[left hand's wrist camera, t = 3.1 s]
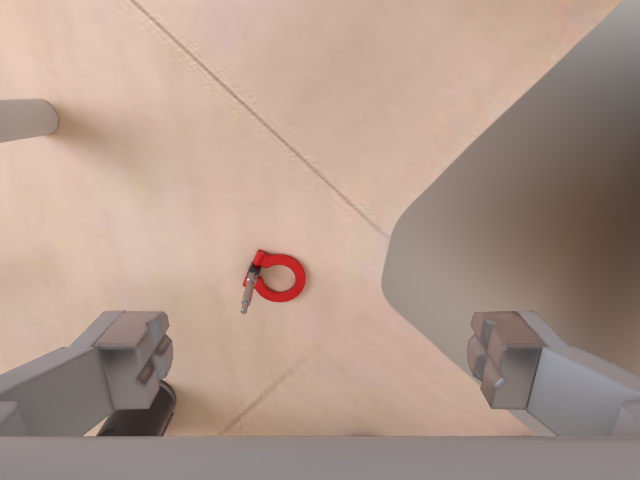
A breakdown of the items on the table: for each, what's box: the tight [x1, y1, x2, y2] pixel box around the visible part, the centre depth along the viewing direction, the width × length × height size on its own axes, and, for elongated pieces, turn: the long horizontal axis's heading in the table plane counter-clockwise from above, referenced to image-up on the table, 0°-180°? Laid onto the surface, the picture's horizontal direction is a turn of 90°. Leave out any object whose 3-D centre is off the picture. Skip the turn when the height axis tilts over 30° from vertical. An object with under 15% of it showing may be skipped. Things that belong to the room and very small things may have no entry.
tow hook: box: [241, 250, 305, 314], centre depth 57 cm, size 8×13×9 cm
